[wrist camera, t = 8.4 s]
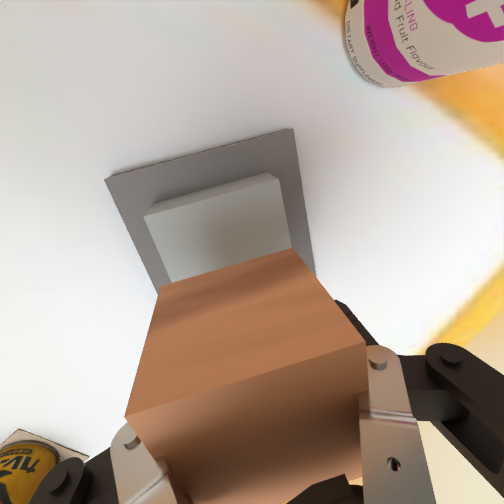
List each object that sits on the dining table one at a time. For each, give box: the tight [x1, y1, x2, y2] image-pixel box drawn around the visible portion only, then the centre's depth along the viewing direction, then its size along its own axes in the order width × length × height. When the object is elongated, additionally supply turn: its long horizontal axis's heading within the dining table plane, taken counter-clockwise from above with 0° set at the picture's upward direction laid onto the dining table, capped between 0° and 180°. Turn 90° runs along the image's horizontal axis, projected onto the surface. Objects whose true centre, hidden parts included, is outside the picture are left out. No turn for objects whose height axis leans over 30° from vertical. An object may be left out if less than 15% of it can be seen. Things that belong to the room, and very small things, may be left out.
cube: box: [124, 248, 369, 504], centre depth 11 cm, size 6×6×6 cm
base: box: [104, 129, 316, 294], centre depth 22 cm, size 14×14×5 cm
